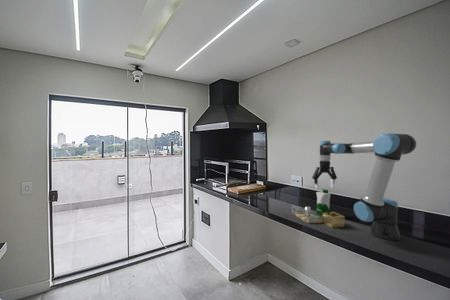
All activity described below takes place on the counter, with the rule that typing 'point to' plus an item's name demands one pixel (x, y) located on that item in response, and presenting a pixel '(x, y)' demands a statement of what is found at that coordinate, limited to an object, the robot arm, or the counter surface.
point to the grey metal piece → (308, 214)
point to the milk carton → (323, 202)
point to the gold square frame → (333, 219)
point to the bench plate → (302, 216)
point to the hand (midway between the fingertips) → (324, 187)
